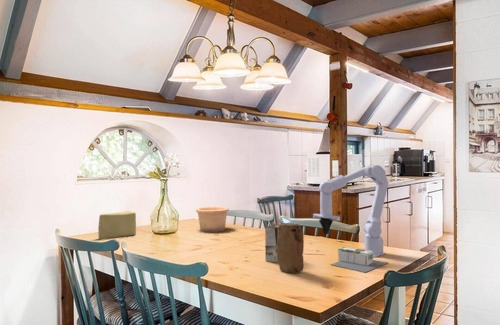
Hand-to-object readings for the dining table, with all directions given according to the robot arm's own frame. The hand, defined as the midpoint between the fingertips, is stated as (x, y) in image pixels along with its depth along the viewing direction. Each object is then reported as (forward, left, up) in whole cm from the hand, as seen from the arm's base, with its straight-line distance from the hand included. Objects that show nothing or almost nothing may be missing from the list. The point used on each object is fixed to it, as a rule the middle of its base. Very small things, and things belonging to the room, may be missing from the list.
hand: (326, 233), depth 191 cm
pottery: (-4, -95, -11) cm, 96 cm away
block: (+33, +5, -11) cm, 35 cm away
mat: (+4, +21, -10) cm, 23 cm away
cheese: (+52, -121, -11) cm, 132 cm away
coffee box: (+24, -12, -11) cm, 29 cm away
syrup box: (+4, +10, -7) cm, 13 cm away
